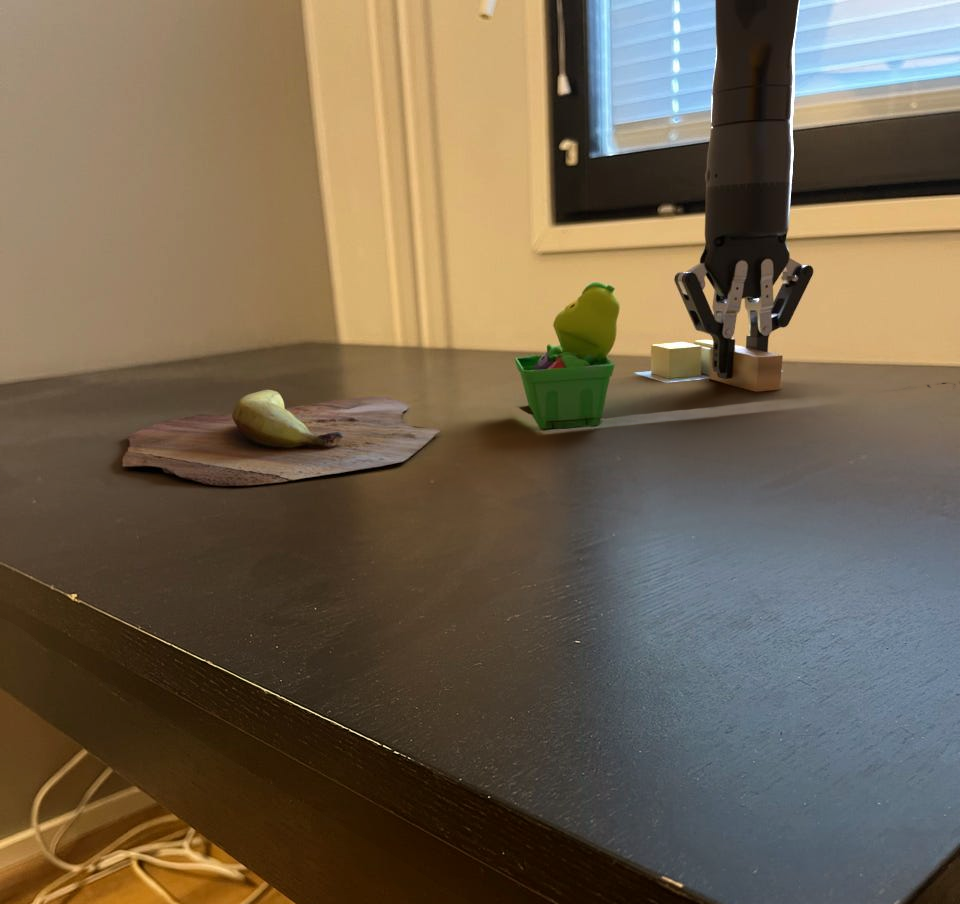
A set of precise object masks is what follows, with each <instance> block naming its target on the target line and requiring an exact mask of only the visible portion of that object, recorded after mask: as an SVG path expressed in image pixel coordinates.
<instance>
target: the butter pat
mask: <svg viewBox="0 0 960 904" xmlns="http://www.w3.org/2000/svg"><path fill="white" fill-rule="evenodd" d="M693 344H694V345H699V346H702V347H707V348H711V346H713V340H712V339H711V340H710V339H700V340H699V339H698V340H694V341H693Z"/></svg>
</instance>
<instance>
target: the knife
mask: <svg viewBox="0 0 960 904" xmlns="http://www.w3.org/2000/svg"><path fill="white" fill-rule="evenodd" d="M683 342H684V343H686V341H683ZM688 343H689V344H691V343H690V342H688ZM783 356H784V355H782V354H778V353H773V352H769V351H768V352H765V351H760V350H756V349H751V348H746V346H742V345H736V344H735V351H734V358H733V375H732V378H731V379H722V378H719V377H718V376H717V372H714V370H713V367H712V361H713V346H711V348H707V347H702V346H701V373H703V374H707V375H709V380H712V381H716V382H719V383H722V384H725V385H726V384H727V385H729V386H732V387H736V388H740V389H743V390H749V391H752V392H756V393H757V392H758V393H759V392H767V391H777V390H781V383H782V372H783V370H782V369H783Z"/></svg>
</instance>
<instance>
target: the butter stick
mask: <svg viewBox="0 0 960 904" xmlns="http://www.w3.org/2000/svg"><path fill="white" fill-rule="evenodd" d="M684 342H685V341H678V342H667V343H656V344H651V345H650V371H651V374H655V375H658V376H662V377H665V378H669V379H672V378H683V377H693V376H701V346H699V345H694V343H690V342H685V343H684ZM689 343H690V344H689Z"/></svg>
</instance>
